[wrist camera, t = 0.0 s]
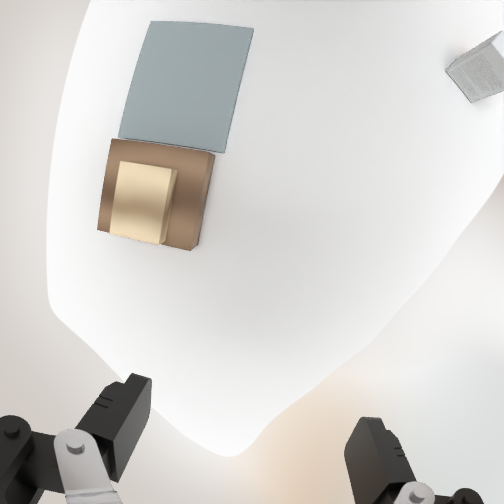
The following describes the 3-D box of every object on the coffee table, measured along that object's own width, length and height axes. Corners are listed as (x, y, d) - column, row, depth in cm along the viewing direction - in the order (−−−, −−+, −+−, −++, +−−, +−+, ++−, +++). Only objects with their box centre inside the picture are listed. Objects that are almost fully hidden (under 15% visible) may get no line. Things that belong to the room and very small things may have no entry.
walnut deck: (125, 142, 37) (111, 138, 33) (215, 155, 37) (209, 152, 33) (111, 225, 40) (97, 229, 36) (197, 244, 39) (190, 250, 36)
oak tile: (129, 162, 34) (120, 161, 31) (178, 170, 34) (171, 169, 31) (118, 230, 36) (109, 233, 33) (165, 241, 35) (158, 244, 33)
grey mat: (152, 23, 34) (150, 21, 33) (253, 30, 34) (253, 28, 33) (119, 137, 37) (117, 137, 37) (224, 153, 37) (223, 152, 37)
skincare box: (483, 88, 33) (533, 70, 21) (470, 103, 34) (522, 86, 22) (457, 56, 32) (502, 29, 21) (443, 70, 33) (490, 42, 21)
